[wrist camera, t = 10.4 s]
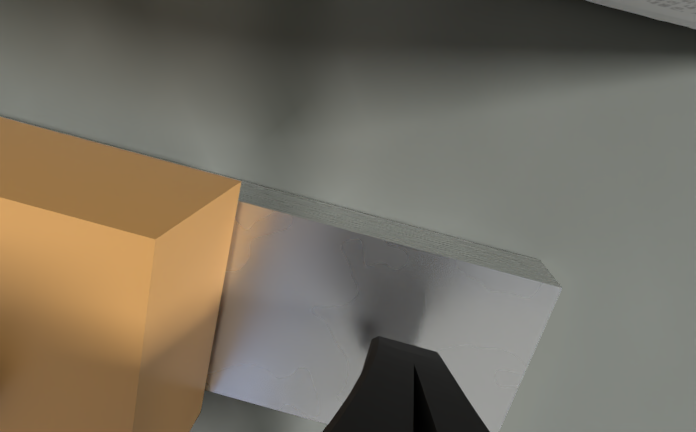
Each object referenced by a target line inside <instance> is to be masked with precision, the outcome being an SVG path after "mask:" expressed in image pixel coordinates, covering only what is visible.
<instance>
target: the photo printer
mask: <svg viewBox="0 0 696 432" xmlns="http://www.w3.org/2000/svg"><path fill="white" fill-rule="evenodd" d="M585 1H589V2H592V3H596V4H600V5H603V6H607V7H611V8H615V9H619V10H623V11H627V12H631V13H634V14H638V15H642V16H646V17H649V18H653V19H656V20H660V21H665V22H670V23H673V24H677V25H681V26H686V27H689V28H692V29H696V0H585Z"/></svg>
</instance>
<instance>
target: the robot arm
mask: <svg viewBox="0 0 696 432" xmlns="http://www.w3.org/2000/svg"><path fill="white" fill-rule="evenodd" d="M323 432H490V431H489V430H488V428H487V427H486V425H485V424H484V423H483V421H482V420H481V418H480V417H479V415H478V414H477V412H476V411H475V409H474V408H473V406H472V405H471V403H470V402H469V400H468V399H467V397H466V396H465V394H464V392H463V391H462V389H461V388H460V386H459V385H458V383H457V382H456V380H455V378H454V377H453V375H452V374H451V372H450V370H449V369H448V367H447V366H446V364H445V363H444V361H443V360H442V358H441V357H440V355H439V354H438V352H436V351H432V350H428V349H425V348H421V347H417V346H414V345H410V344H407V343H403V342H399V341H396V340H392V339H388V338H385V337H381V336H377V337H375V338H373V339H372V340H371V343H370V346H369V349H368V353H367V356H366V359H365V362H364V366H363V369H362V372H361V375H360V376H359V378H358V380H357V382H356V383H355V385H354V387H353V389H352V390H351V392H350V394H349V395H348V397H347V398H346V400H345V401H344V403H343V404H342V406H341V407H340V408H339V410H338V411H337V413H336V414H335V416H334V417H333V418H332V420H331V421H330V423H329V424H328V425H327V427H326V428H325V429H324V430H323Z"/></svg>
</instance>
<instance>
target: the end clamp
mask: <svg viewBox="0 0 696 432" xmlns="http://www.w3.org/2000/svg"><path fill="white" fill-rule="evenodd" d="M240 187H241V181H238V180H234V179H231V178H227V177H223V176H219V175H216V174H212V173H208V172H204V171H201V170H197V169H193V168H189V167H186V166H182V165H178V164H175V163H171V162H167V161H163V160H160V159H156V158H152V157H148V156H145V155H141V154H137V153H133V152H130V151H126V150H122V149H118V148H115V147H111V146H107V145H103V144H100V143H96V142H92V141H88V140H85V139H81V138H77V137H74V136H70V135H66V134H62V133H59V132H55V131H51V130H47V129H44V128H40V127H36V126H32V125H29V124H25V123H21V122H17V121H14V120H10V119H6V118H2V117H0V432H189V431H190V430H191V428H192V426H193V424H194V423H195V421H196V419H197V418H198V416H199V414H200V412H201V407H202V401H203V396H204V390H205V384H206V379H207V373H208V367H209V362H210V356H211V351H212V345H213V339H214V334H215V328H216V322H217V317H218V311H219V305H220V300H221V294H222V289H223V283H224V277H225V272H226V266H227V260H228V255H229V249H230V243H231V238H232V232H233V227H234V221H235V215H236V210H237V204H238V198H239V193H240Z"/></svg>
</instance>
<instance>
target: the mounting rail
mask: <svg viewBox="0 0 696 432" xmlns="http://www.w3.org/2000/svg"><path fill="white" fill-rule="evenodd" d="M0 117H2V116H0ZM2 118H6V117H2ZM6 119H10V118H6ZM10 120H13V119H10ZM14 121H17V120H14ZM17 122H21V121H17ZM21 123H25V122H21ZM25 124H28V123H25ZM29 125H32V124H29ZM32 126H36V125H32ZM36 127H40V126H36ZM40 128H43V127H40ZM44 129H47V128H44ZM47 130H51V129H47ZM51 131H55V130H51ZM55 132H58V131H55ZM59 133H62V132H59ZM62 134H66V133H62ZM66 135H70V134H66ZM70 136H73V135H70ZM74 137H77V136H74ZM77 138H81V137H77ZM81 139H84V138H81ZM85 140H88V139H85ZM88 141H92V140H88ZM92 142H96V141H92ZM96 143H99V142H96ZM100 144H103V143H100ZM103 145H107V144H103ZM107 146H111V145H107ZM111 147H114V146H111ZM115 148H118V147H115ZM118 149H122V148H118ZM122 150H126V149H122ZM126 151H129V150H126ZM130 152H133V151H130ZM133 153H137V152H133ZM137 154H141V153H137ZM141 155H144V154H141ZM145 156H148V155H145ZM148 157H152V156H148ZM152 158H156V157H152ZM156 159H159V158H156ZM160 160H163V159H160ZM163 161H167V160H163ZM167 162H171V161H167ZM171 163H174V162H171ZM175 164H178V163H175ZM178 165H182V164H178ZM182 166H186V165H182ZM186 167H189V166H186ZM189 168H193V167H189ZM193 169H197V168H193ZM197 170H200V169H197ZM201 171H204V170H201ZM204 172H208V171H204ZM208 173H212V172H208ZM212 174H215V173H212ZM216 175H219V174H216ZM219 176H223V175H219ZM223 177H227V176H223ZM227 178H230V177H227ZM231 179H234V178H231ZM234 180H238V179H234ZM238 181H241V187H240V193H239V198H238V204H237V210H236V215H235V221H234V227H233V232H232V238H231V243H230V249H229V255H228V260H227V266H226V272H225V277H224V283H223V289H222V294H221V300H220V305H219V311H218V317H217V322H216V328H215V334H214V339H213V345H212V351H211V356H210V362H209V367H208V373H207V379H206V384H205V390H206V391H210V392H213V393H217V394H221V395H224V396H228V397H231V398H235V399H238V400H242V401H246V402H249V403H253V404H256V405H260V406H264V407H267V408H271V409H274V410H278V411H282V412H285V413H289V414H292V415H296V416H299V417H303V418H307V419H310V420H314V421H317V422H321V423H325V424H329V423H330V421H331V420H332V418H333V417H334V416H335V414H336V413H337V411H338V410H339V408H340V407H341V406H342V404H343V403H344V401H345V400H346V398H347V397H348V395H349V394H350V392H351V390H352V389H353V387H354V385H355V383H356V382H357V380H358V378H359V376H360V375H361V372H362V369H363V366H364V362H365V359H366V356H367V353H368V349H369V346H370V343H371V340H372V339H373V338H375V337H377V336H381V337H385V338H388V339H392V340H396V341H399V342H403V343H407V344H410V345H414V346H417V347H421V348H425V349H428V350H432V351H436V352H438V354H439V355H440V357H441V358H442V360H443V361H444V363H445V364H446V366H447V367H448V369H449V370H450V372H451V374H452V375H453V377H454V378H455V380H456V382H457V383H458V385H459V386H460V388H461V389H462V391H463V392H464V394H465V396H466V397H467V399H468V400H469V402H470V403H471V405H472V406H473V408H474V409H475V411H476V412H477V414H478V415H479V417H480V418H481V420H482V421H483V423H484V424H485V425H486V427H487V428H488V430H489V431H490V432H499V431H500V428H501V426H502V424H503V422H504V419H505V417H506V415H507V412H508V410H509V408H510V406H511V403H512V401H513V399H514V397H515V394H516V392H517V390H518V387H519V385H520V383H521V381H522V378H523V376H524V374H525V372H526V369H527V367H528V365H529V362H530V360H531V358H532V356H533V353H534V351H535V349H536V347H537V344H538V342H539V340H540V337H541V335H542V333H543V331H544V328H545V326H546V324H547V322H548V319H549V317H550V315H551V312H552V310H553V308H554V306H555V303H556V301H557V299H558V297H559V294H560V292H561V290H562V287H561V286H560V284H559V283H558V282H557V281H556V279H555V278H554V277H553V276H552V274H551V273H550V272H549V270H548V269H547V268H546V267H545V265H544V264H543V263H542V262H541V260H537V259H533V258H530V257H526V256H522V255H519V254H515V253H511V252H507V251H504V250H500V249H496V248H492V247H489V246H485V245H481V244H477V243H474V242H470V241H466V240H462V239H459V238H455V237H451V236H447V235H444V234H440V233H436V232H432V231H429V230H425V229H421V228H417V227H414V226H410V225H406V224H403V223H399V222H395V221H391V220H388V219H384V218H380V217H376V216H373V215H369V214H365V213H361V212H358V211H354V210H350V209H346V208H343V207H339V206H335V205H331V204H328V203H324V202H320V201H316V200H313V199H309V198H305V197H301V196H298V195H294V194H290V193H287V192H283V191H279V190H275V189H272V188H268V187H264V186H260V185H257V184H253V183H249V182H245V181H242V180H238Z"/></svg>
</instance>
